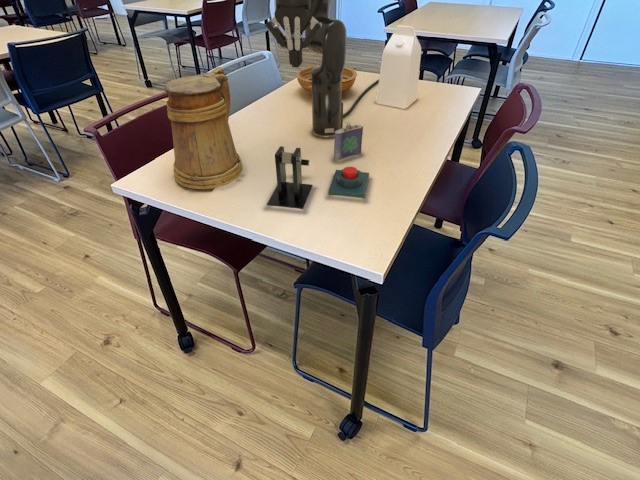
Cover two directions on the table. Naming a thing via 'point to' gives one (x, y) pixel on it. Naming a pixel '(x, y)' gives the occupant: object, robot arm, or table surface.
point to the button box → (349, 185)
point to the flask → (348, 141)
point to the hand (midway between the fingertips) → (296, 66)
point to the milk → (400, 69)
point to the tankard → (202, 130)
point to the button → (349, 172)
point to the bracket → (289, 183)
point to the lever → (288, 159)
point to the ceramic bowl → (306, 78)
